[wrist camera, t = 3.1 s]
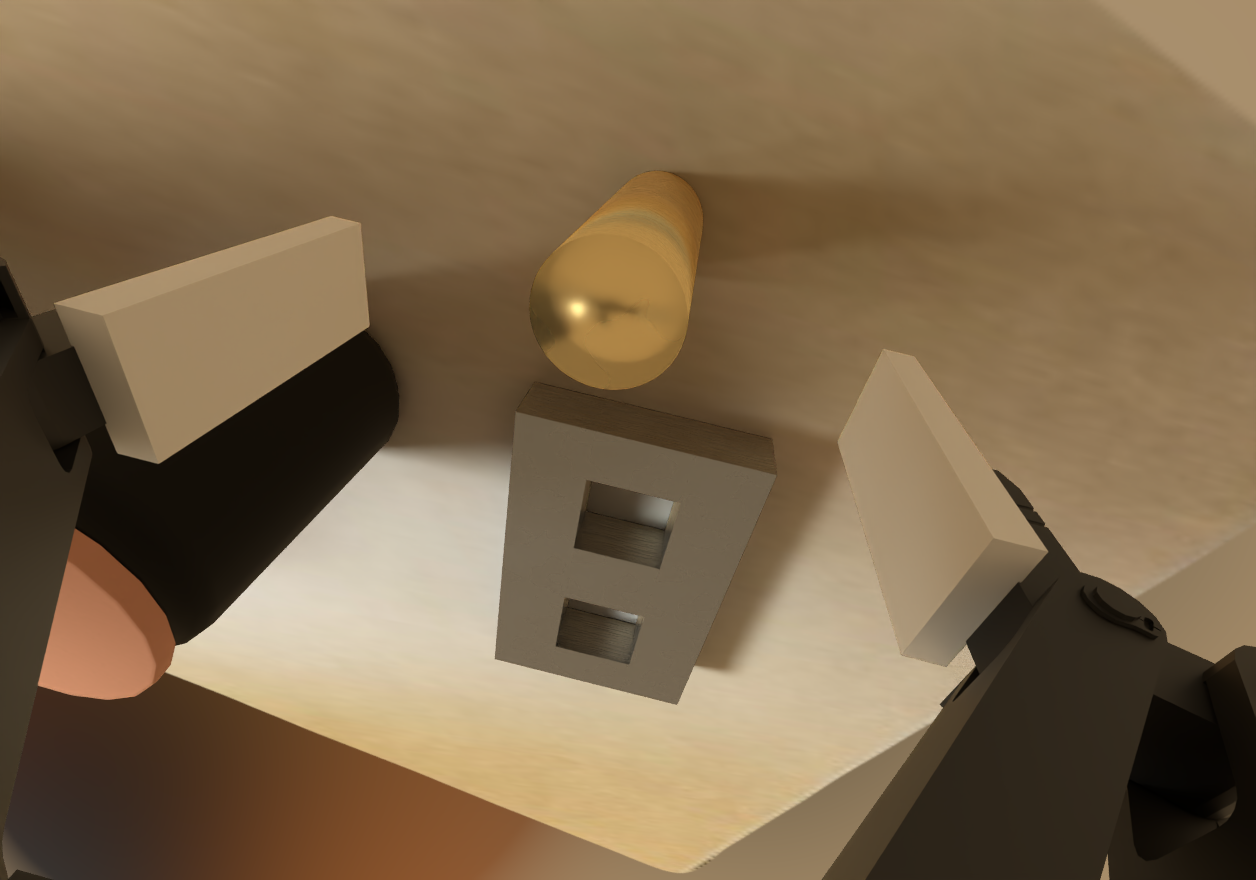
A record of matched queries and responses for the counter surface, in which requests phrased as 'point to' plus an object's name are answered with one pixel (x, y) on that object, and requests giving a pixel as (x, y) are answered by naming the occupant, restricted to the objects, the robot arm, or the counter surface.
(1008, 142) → the counter surface
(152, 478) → the coffee jar
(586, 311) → the yellow translucent cylinder
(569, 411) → the block
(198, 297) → the robot arm
